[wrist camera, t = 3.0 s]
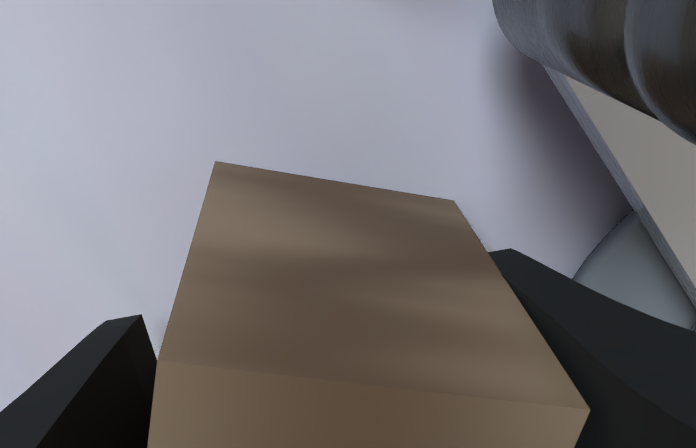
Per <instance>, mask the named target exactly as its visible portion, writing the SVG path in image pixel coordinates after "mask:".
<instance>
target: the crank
mask: <svg viewBox="0 0 696 448" xmlns="http://www.w3.org/2000/svg"><path fill="white" fill-rule="evenodd" d="M492 1H493V7H494V11H495V15H496V18H497V20H498V23H499V25H500V27H501V29H502V31H503V33H504V34H505V36H506V37H507V38H508V40H509V41H510V42H511V43H512V44H513V45H514V46H515V47H516V48H517V49H518V50H519V51H520V52H522V53H523V54H524V55H526V56H528V57H530V58H531V59H533V60H535V61H537V62H539V63H541V64H542V65H543V67H544V68H545V70H546V72H547V73H548V75H549V76H550V78H551V79H552V81H553V83H554V84H555V86H556V87H557V89H558V91H559V92H560V94H561V95H562V97H563V99H564V100H565V102H566V103H567V105H568V106H569V108H570V110H571V111H572V113H573V114H574V116H575V118H576V119H577V121H578V122H579V124H580V125H581V127H582V129H583V130H584V132H585V133H586V135H587V137H588V138H589V140H590V141H591V143H592V144H593V146H594V148H595V149H596V151H597V152H598V154H599V156H600V157H601V159H602V160H603V162H604V164H605V165H606V167H607V168H608V170H609V171H610V173H611V175H612V176H613V178H614V179H615V181H616V183H617V184H618V186H619V187H620V189H621V190H622V192H623V194H624V195H625V197H626V198H627V200H628V202H629V203H630V205H631V206H632V208H633V209H634V211H635V213H636V214H637V216H638V217H639V219H640V221H641V222H642V224H643V225H644V227H645V229H646V230H647V232H648V233H649V235H650V236H651V238H652V240H653V241H654V243H655V244H656V246H657V248H658V249H659V251H660V252H661V254H662V255H663V257H664V259H665V260H666V262H667V263H668V265H669V267H670V268H671V270H672V271H673V273H674V274H675V276H676V278H677V279H678V281H679V282H680V284H681V286H682V287H683V289H684V290H685V292H686V294H687V295H688V297H689V298H690V300H691V301H692V303H693V305H694V306H695V308H696V0H492ZM691 330H692V331H695V332H696V324H695V325H694V326H693V328H692V329H691Z"/></svg>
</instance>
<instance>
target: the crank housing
mask: <svg viewBox="0 0 696 448" xmlns="http://www.w3.org/2000/svg"><path fill="white" fill-rule="evenodd" d="M572 280H574V281H576V282H578V283H580V284H582V285H584V286H586V287H588V288H590V289H592V290H594V291H596V292H598V293H600V294H602V295H604V296H607V297H609V298H611V299H613V300H615V301H618V302H620V303H622V304H625V305H627V306H629V307H632V308H634V309H636V310H639V311H641V312H643V313H646V314H648V315H650V316H653V317H656V318H658V319H661V320H663V321H666V322H669V323H671V324H674V325H677V326H680V327H683V328H686V329H689V330H691V329H692V328H693V326H694V325H695V324H696V308H695V306H694V305H693V303H692V301H691V300H690V298H689V297H688V295H687V294H686V292H685V290H684V289H683V287H682V286H681V284H680V282H679V281H678V279H677V278H676V276H675V274H674V273H673V271H672V270H671V268H670V267H669V265H668V263H667V262H666V260H665V259H664V257H663V255H662V254H661V252H660V251H659V249H658V248H657V246H656V244H655V243H654V241H653V240H652V238H651V236H650V235H649V233H648V232H647V230H646V229H645V227H644V225H643V224H642V222H641V221H640V219H639V217H638V216H637V214H636V213H635V211H634V210H633V211H631V212H630V213H629V214H628V215H627V216H626V217H625V218H624V219H623V220H622V221H621V222H620V223H619V224H618V225H617V226H616V227H614V228H613V229H612V230H611V231H610V232H609V233H608V234H607V235H606V236H605V238H604V239H603V240H602V241H601V242H600V243H599V245H598V246H597V247H596V248H595V249H594V250H593V252H592V253H591V254H590V255H589V256H588V257H587V259H586V260H585V261H584V263H583V264H582V266H581V267H580V269H579V270H578V272H577V273H576V275H575V276H574V278H573V279H572Z"/></svg>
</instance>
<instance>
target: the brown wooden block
mask: <svg viewBox="0 0 696 448" xmlns="http://www.w3.org/2000/svg"><path fill="white" fill-rule="evenodd" d="M589 412H590V408H589V407H588V405H587V404H586V402H585V401H584V399H583V398H582V396H581V395H580V393H579V391H578V390H577V388H576V387H575V385H574V384H573V382H572V381H571V379H570V378H569V376H568V375H567V373H566V372H565V370H564V369H563V367H562V365H561V364H560V362H559V361H558V359H557V358H556V356H555V355H554V353H553V352H552V350H551V349H550V347H549V346H548V344H547V343H546V341H545V339H544V338H543V336H542V335H541V333H540V332H539V330H538V329H537V327H536V326H535V324H534V323H533V321H532V320H531V318H530V317H529V315H528V313H527V312H526V310H525V309H524V307H523V306H522V304H521V303H520V301H519V300H518V298H517V297H516V295H515V294H514V292H513V291H512V289H511V287H510V286H509V284H508V283H507V281H506V280H505V279H504V278H503V276H502V275H501V272H500V271H499V269H498V268H497V266H496V265H495V263H494V261H493V260H492V258H491V257H490V255H489V254H488V252H487V251H486V249H485V248H484V246H483V245H482V243H481V242H480V240H479V239H478V237H477V235H476V234H475V232H474V231H473V229H472V228H471V226H470V225H469V223H468V222H467V220H466V219H465V217H464V216H463V214H462V213H461V211H460V209H459V208H458V206H457V205H456V203H455V202H454V201H452V200H446V199H440V198H434V197H428V196H422V195H416V194H410V193H404V192H398V191H392V190H386V189H380V188H374V187H368V186H362V185H356V184H350V183H344V182H338V181H332V180H326V179H319V178H313V177H307V176H301V175H295V174H289V173H283V172H277V171H271V170H265V169H259V168H253V167H247V166H241V165H235V164H229V163H223V162H217V161H215V164H214V168H213V171H212V174H211V178H210V181H209V185H208V188H207V192H206V195H205V198H204V202H203V205H202V209H201V212H200V216H199V219H198V222H197V226H196V229H195V233H194V236H193V240H192V243H191V246H190V250H189V253H188V257H187V260H186V264H185V267H184V270H183V274H182V277H181V281H180V284H179V288H178V291H177V295H176V298H175V301H174V305H173V308H172V312H171V315H170V319H169V322H168V325H167V329H166V332H165V336H164V339H163V343H162V346H161V349H160V353H159V356H158V360H157V367H156V375H155V384H154V393H153V402H152V411H151V419H150V428H149V437H148V446H147V448H574V447H575V444H576V442H577V440H578V438H579V435H580V433H581V431H582V428H583V426H584V424H585V421H586V419H587V417H588V415H589Z"/></svg>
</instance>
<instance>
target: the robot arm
mask: <svg viewBox="0 0 696 448" xmlns="http://www.w3.org/2000/svg"><path fill="white" fill-rule="evenodd" d="M488 254H489V255H490V257H491V258H492V260H493V261H494V263H495V265H496V266H497V268H498V269H499V271H500V272H501V275H502V276H503V278H504V279H505V280H506V281H507V283H508V284H509V286H510V287H511V289H512V291H513V292H514V294H515V295H516V297H517V298H518V300H519V301H520V303H521V304H522V306H523V307H524V309H525V310H526V312H527V313H528V315H529V317H530V318H531V320H532V321H533V323H534V324H535V326H536V327H537V329H538V330H539V332H540V333H541V335H542V336H543V338H544V339H545V341H546V343H547V344H548V346H549V347H550V349H551V350H552V352H553V353H554V355H555V356H556V358H557V359H558V361H559V362H560V364H561V365H562V367H563V369H564V370H565V372H566V373H567V375H568V376H569V378H570V379H571V381H572V382H573V384H574V385H575V387H576V388H577V390H578V391H579V393H580V395H581V396H582V398H583V399H584V401H585V402H586V404H587V405H588V407H589V408H590V412H589V415H588V417H587V419H586V421H585V424H584V426H583V428H582V431H581V433H580V435H579V438H578V440H577V442H576V444H575V447H574V448H696V332H695V331H692V330H689V329H686V328H683V327H680V326H677V325H674V324H671V323H669V322H666V321H663V320H661V319H658V318H656V317H653V316H650V315H648V314H646V313H643V312H641V311H639V310H636V309H634V308H632V307H629V306H627V305H625V304H622V303H620V302H618V301H615V300H613V299H611V298H609V297H607V296H604V295H602V294H600V293H598V292H596V291H594V290H592V289H590V288H588V287H586V286H584V285H582V284H580V283H578V282H576V281H574V280H572V279H570V278H568V277H566V276H564V275H562V274H560V273H558V272H557V271H555V270H553V269H551V268H549V267H547V266H545V265H543V264H541V263H539V262H538V261H536V260H534V259H532V258H530V257H528V256H526V255H524V254H522V253H520V252H518V251H516V250H513V249H511V248H510V249H505V250H499V251H493V252H488ZM156 367H157V360H156V357H155V354H154V351H153V348H152V344H151V341H150V338H149V335H148V332H147V329H146V326H145V323H144V320H143V317H142V314H141V315H135V316H130V317H124V318H118V319H113V320H107V321H105V322H104V323H103V324H101V325H100V326H98V327H97V328H96V329H95V330H93V331H92V332H91V333H90V334H89V335H88V336H86V337H85V338H84V339H83V340H82V341H81V342H80V343H78V344H77V345H76V346H75V347H74V348H73V349H72V350H71V351H70V352H68V353H67V354H66V355H65V356H64V357H63V358H62V359H61V360H60V361H59V362H57V363H56V364H55V365H54V366H53V367H52V368H51V369H50V370H48V371H47V372H46V373H45V374H44V375H43V376H42V377H41V378H40V379H38V380H37V381H36V382H35V383H34V384H33V385H32V386H31V387H30V388H28V389H27V390H26V391H25V392H24V393H23V394H21V395H20V396H19V397H18V398H17V399H15V400H14V401H13V402H12V403H11V404H9V405H8V406H7V407H6V408H5V409H3V410H2V411H1V412H0V448H147V446H148V437H149V428H150V419H151V411H152V402H153V393H154V384H155V375H156Z"/></svg>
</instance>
